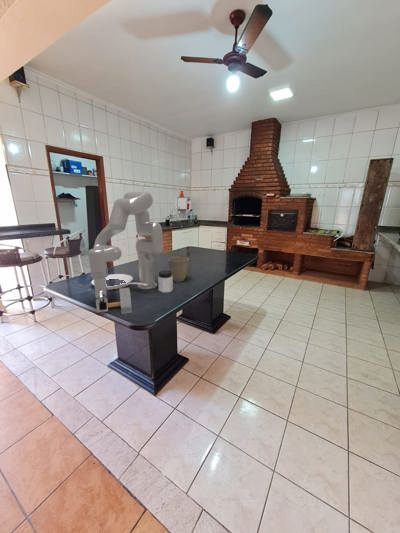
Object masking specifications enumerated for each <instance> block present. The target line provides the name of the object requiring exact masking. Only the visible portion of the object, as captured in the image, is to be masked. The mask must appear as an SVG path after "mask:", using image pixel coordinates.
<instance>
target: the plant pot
mask: <svg viewBox="0 0 400 533" xmlns="http://www.w3.org/2000/svg"><path fill="white" fill-rule="evenodd" d="M167 263H168V267H169V271H171V272H172V276H173V282H177V283H181V282H184V281H185V279H186V277H187V273H188V267H189V263H190V259H189V257H186V256H173V257H172V256H171V257H169V258H167Z"/></svg>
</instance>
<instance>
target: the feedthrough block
mask: <svg viewBox="0 0 400 533" xmlns="http://www.w3.org/2000/svg"><path fill="white" fill-rule="evenodd" d="M118 290H119V299H120V300H119V302H121V306H120V312H121V315H125V314H130V313H133V309H132V308H131V307H132V298H131V291H130V287H123V288H120V289H118Z"/></svg>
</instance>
